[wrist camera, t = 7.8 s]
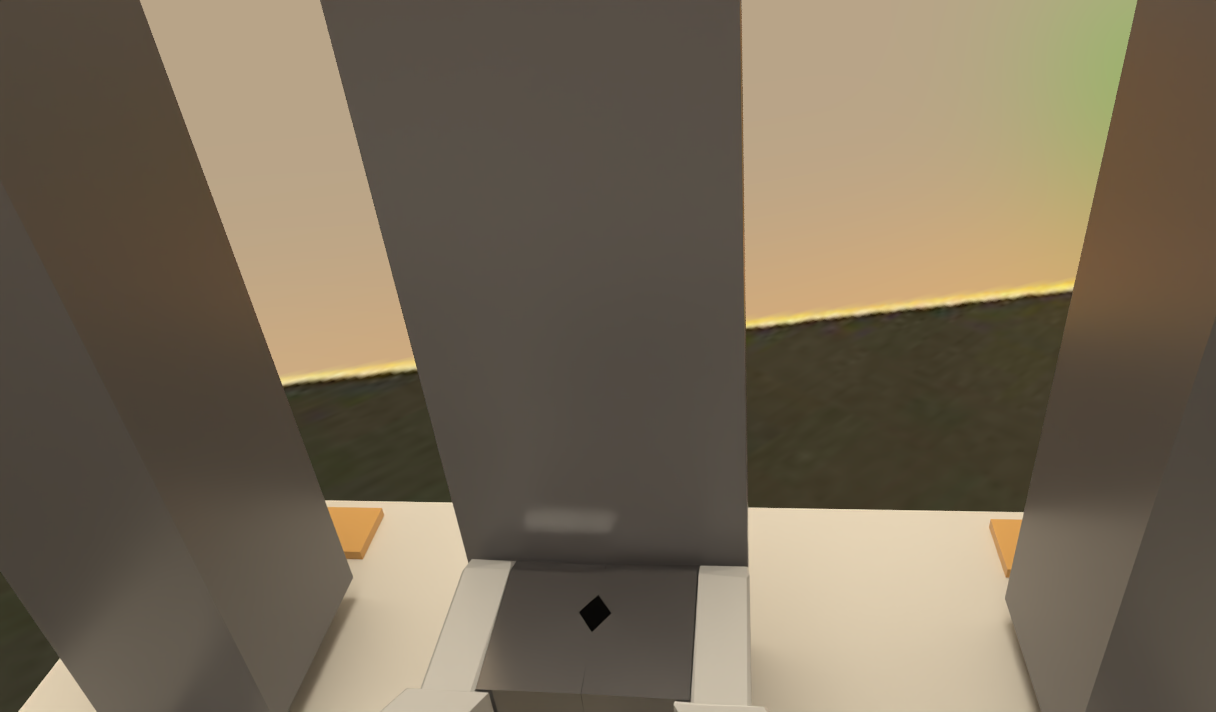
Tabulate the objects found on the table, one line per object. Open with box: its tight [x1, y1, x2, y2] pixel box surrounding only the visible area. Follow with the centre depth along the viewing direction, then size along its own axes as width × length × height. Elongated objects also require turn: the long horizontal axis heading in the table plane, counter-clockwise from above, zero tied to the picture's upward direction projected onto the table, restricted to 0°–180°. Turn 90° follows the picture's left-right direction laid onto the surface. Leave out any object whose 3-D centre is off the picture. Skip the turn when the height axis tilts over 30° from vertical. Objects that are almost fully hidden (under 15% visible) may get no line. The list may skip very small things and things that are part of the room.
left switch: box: [0, 0, 353, 712], centre depth 11 cm, size 3×3×12 cm
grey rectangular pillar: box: [320, 0, 749, 568], centre depth 10 cm, size 3×3×12 cm
